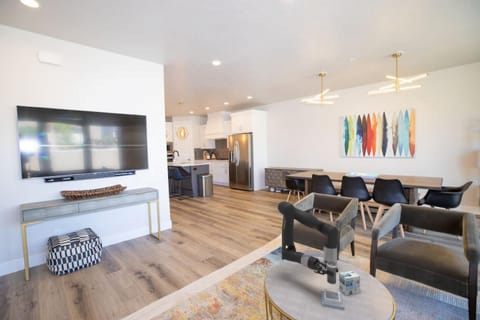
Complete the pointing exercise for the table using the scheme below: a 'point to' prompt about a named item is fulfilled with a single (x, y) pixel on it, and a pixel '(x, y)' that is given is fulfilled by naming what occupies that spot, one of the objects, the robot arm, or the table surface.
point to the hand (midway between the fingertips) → (335, 272)
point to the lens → (331, 267)
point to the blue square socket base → (332, 299)
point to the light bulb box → (349, 282)
